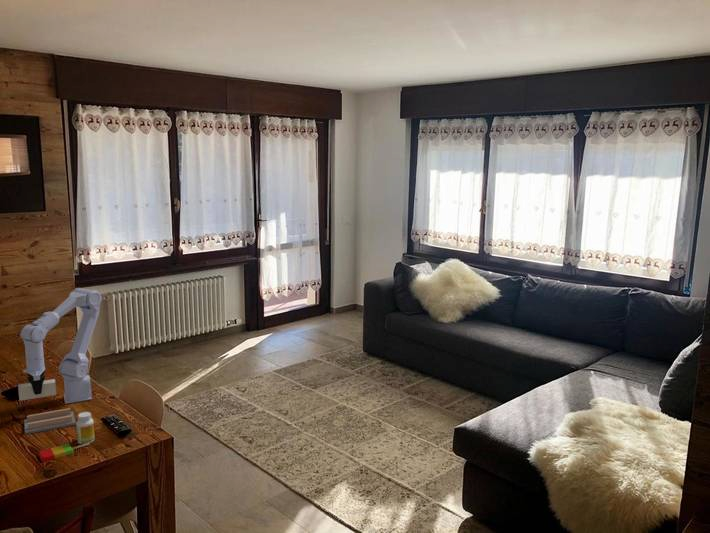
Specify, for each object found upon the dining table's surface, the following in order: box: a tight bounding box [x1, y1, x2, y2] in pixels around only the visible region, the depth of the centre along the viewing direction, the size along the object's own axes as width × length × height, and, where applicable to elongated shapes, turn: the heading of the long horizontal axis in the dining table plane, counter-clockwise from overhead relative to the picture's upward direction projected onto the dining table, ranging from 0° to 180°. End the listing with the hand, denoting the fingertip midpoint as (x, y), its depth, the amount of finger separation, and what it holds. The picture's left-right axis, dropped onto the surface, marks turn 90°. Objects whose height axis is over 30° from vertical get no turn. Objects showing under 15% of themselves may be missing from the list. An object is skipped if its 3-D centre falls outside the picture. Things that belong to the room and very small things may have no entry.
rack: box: [23, 407, 77, 435], centre depth 210 cm, size 16×10×3 cm, turn 120°
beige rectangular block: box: [17, 378, 57, 402], centre depth 216 cm, size 12×4×5 cm, turn 120°
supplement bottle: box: [75, 411, 96, 445], centre depth 199 cm, size 5×5×10 cm
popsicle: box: [38, 443, 91, 463], centre depth 192 cm, size 6×15×2 cm, turn 131°
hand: (37, 391), depth 216 cm, fingers closed on beige rectangular block, 3 cm apart
